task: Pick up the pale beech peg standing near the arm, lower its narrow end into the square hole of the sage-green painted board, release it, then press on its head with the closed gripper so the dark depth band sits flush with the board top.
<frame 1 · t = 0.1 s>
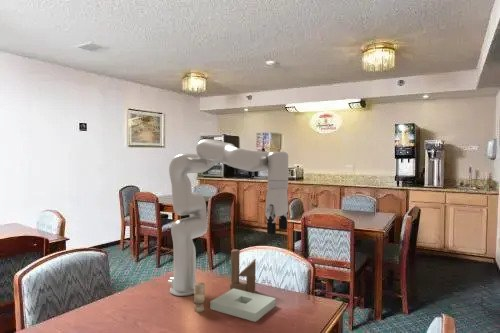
hand: (277, 231, 128), 31 cm above the table, tool pointing down, fingers open, 9 cm apart
peg: (199, 310, 132), on the table
board: (243, 307, 135), on the table
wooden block: (242, 291, 152), on the table
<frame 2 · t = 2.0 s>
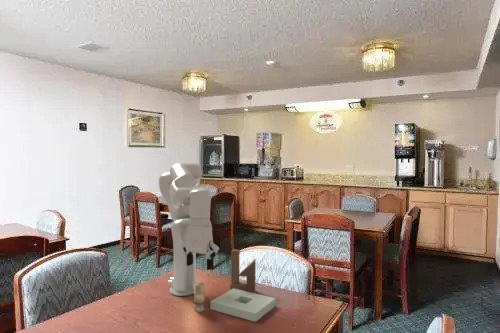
hand: (199, 266, 132), 17 cm above the table, tool pointing down, fingers open, 9 cm apart
nothing on the table moved.
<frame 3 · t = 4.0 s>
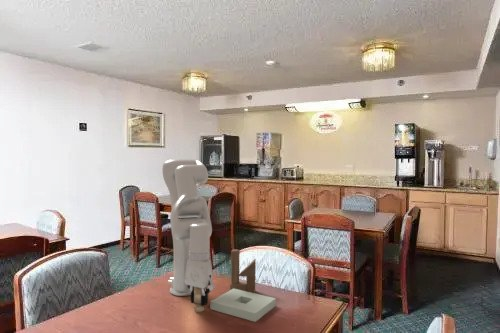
hand: (199, 302, 132), 3 cm above the table, tool pointing down, fingers closed on peg, 4 cm apart
peg: (199, 310, 132), on the table, touching gripper
everything else where it was.
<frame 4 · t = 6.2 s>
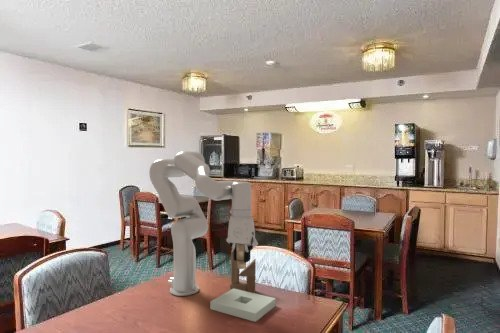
hand: (241, 260, 135), 19 cm above the table, tool pointing down, fingers closed on peg, 4 cm apart
peg: (241, 267, 134), point 16 cm above the table, touching gripper
everything else where it was.
when the fingers open (4 cm above the table, at t = 8.4 s): peg drops 1 cm, resting in board.
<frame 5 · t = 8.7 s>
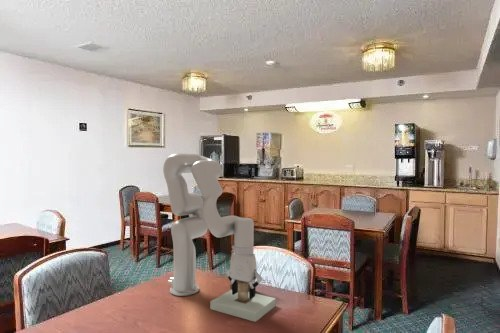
hand: (243, 295, 135), 5 cm above the table, tool pointing down, fingers open, 7 cm apart
peg: (242, 307, 135), resting in board
everything else where it was.
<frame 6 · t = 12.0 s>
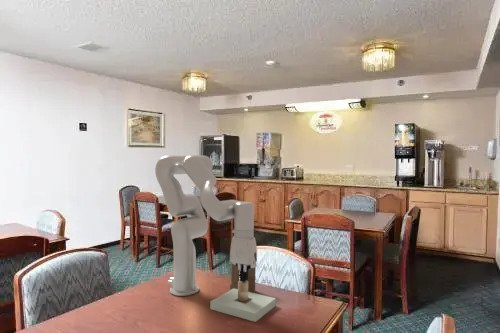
hand: (243, 280, 135), 11 cm above the table, tool pointing down, fingers closed
nothing on the table moved.
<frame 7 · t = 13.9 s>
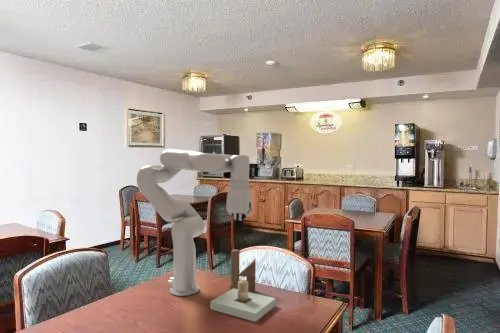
hand: (239, 229, 143), 29 cm above the table, tool pointing down, fingers closed
nothing on the table moved.
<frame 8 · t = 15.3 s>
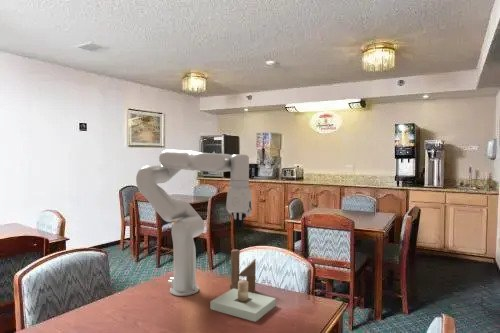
hand: (239, 228, 143), 29 cm above the table, tool pointing down, fingers closed
nothing on the table moved.
at the end: peg 0.1 cm off-centre on the board, point 0.0 cm above the board's base; peg tilted 0°; the gripper is holding nothing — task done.
